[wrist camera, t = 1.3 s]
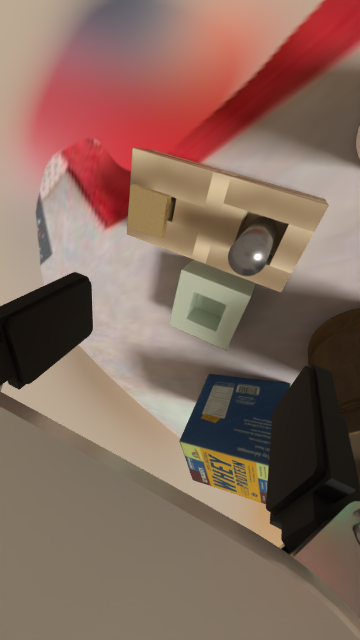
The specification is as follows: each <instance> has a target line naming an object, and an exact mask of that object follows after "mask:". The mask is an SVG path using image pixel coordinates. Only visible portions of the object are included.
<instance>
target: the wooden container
mask: <svg viewBox="0 0 360 640" xmlns="http://www.w3.org/2000/svg"><path fill="white" fill-rule="evenodd" d="M308 358H309V367H311V366H312V365H314V364H315V365H317V366H320V367H322V368H325V369H328V370H330V371H331V372H332V376H333V381H334V385H335V390H336V395H337V400H338V404H339V409H340V414H341V415H342V416H343V417H344V418H345V421H346V425H347V429H348V434H349V438H350V443H351V447H352V452H353V456H354V461H355V465H356V469H357V474H358V478H359V483H360V309H357V310H352V311H349V312H346V313H343V314H340V315H338V316H336V317H334V318H332V319H330V320H329V321H327V322H326V323H324V324H323V325H322V326H321V327H320V328H319V329H318V330H317V331H316V332H315V334H314V335H313V337H312V338H311V341H310V344H309V348H308Z"/></svg>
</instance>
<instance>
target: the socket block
mask: <svg viewBox="0 0 360 640" xmlns="http://www.w3.org/2000/svg"><path fill="white" fill-rule="evenodd" d="M132 184H137V185H140V186H143V187H146V188H149V189H152V190H155V191H158V192H162V193H165V194H168V195H171V196H172V197H171V198H172V199H175V200H176V204H175V209H174V215H173V217H171V218H169V219H168V221H167V227H166V233H165V237H164V238H162V239H159V238H157V237H154V236H151V235H149V234H146V233H143V232H140V231H138V230H135V229H132V228H130V227H128V224H127V234H128V235H130V236H133V237H136V238H138V239H141V240H144V241H146V242H149V243H151V244H154V245H157V246H159V247H162V248H165V249H167V250H170V251H173V252H175V253H178V254H180V255H183V256H186V257H188V258H191V259H194V260H196V261H199V262H202V263H204V264H207V265H210V266H212V267H215V268H217V269H220V270H223V271H225V272H228V273H231V274H233V275H236V276H239V277H241V278H244V279H246V280H249V281H252V282H254V283H257V284H260V285H262V286H265V287H268V288H270V289H273V290H275V291H278V292H281V291H282V290H283V288H284V286H285V284H286V282H287V281H288V279H289V277H290V275H291V273H292V271H293V270H294V268H295V266H296V264H297V262H298V260H299V259H300V257H301V255H302V253H303V251H304V250H305V248H306V246H307V244H308V242H309V240H310V239H311V237H312V235H313V233H314V231H315V230H316V228H317V226H318V224H319V222H320V220H321V219H322V217H323V215H324V213H325V211H326V210H327V208H328V206H329V205H328V203H327V202H326V200H325V199H322V198H318V197H315V196H311V195H308V194H304V193H301V192H297V191H294V190H290V189H287V188H283V187H280V186H276V185H273V184H270V183H266V182H263V181H259V180H256V179H252V178H249V177H245V176H242V175H238V174H235V173H231V172H228V171H225V170H221V169H218V168H214V167H211V166H207V165H204V164H200V163H197V162H193V161H190V160H186V159H183V158H180V157H176V156H173V155H169V154H166V153H162V152H159V151H155V150H148V149H137V148H133V151H132V165H131V180H130V185H132ZM129 199H130V195H129ZM128 213H129V209H128ZM263 216H265V217H268V218H271V219H273V220H274V221H275V223H276V225H277V234H276V237H275V240H274V243H273V246H272V248H271V251H270V254H269V257H268V260H267V263H266V265H265V267H264V268H263V269H262V270H261V271H260V272H259V273H257V274H255V275H252V276H242V275H239V274H237V273H236V272H234V271H233V270H232V268H231V267H230V265H229V262H228V253H229V250H230V248H231V246H232V245H233V244H234V243H235V241H236V240H237V239H238V238H239V237H240V236H241V234H242V233H243V232H244V231H245V230H246V229H247V227H248V226H249V225H250V224H251V223H252V222H253V221H254V220H255V219H256V218H258V217H263Z"/></svg>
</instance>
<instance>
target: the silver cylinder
mask: <svg viewBox="0 0 360 640" xmlns="http://www.w3.org/2000/svg"><path fill="white" fill-rule="evenodd" d="M276 234H277V225H276V223H275V221H274V220H273V219H271V218H268V217H265V216H263V217H258V218H256V219H255V220H254V221H253V222H252V223H251V224H250V225H249V226H248V227H247V229H246V230H245V231H244V232H243V233H242V234H241V236H240V237H239V238H238V239H237V240H236V241H235V243H234V244H233V245H232V246H231V248H230V250H229V253H228V262H229V265H230V267H231V268H232V270H233V271H234V272H236V273H237V274H239V275H242V276H252V275H255V274H257V273H259V272H260V271H261V270H262V269H263V268H264V267H265V265H266V263H267V260H268V257H269V254H270V251H271V248H272V246H273V243H274V240H275V237H276Z"/></svg>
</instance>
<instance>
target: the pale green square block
mask: <svg viewBox="0 0 360 640" xmlns="http://www.w3.org/2000/svg"><path fill="white" fill-rule="evenodd" d="M255 285H256V283H254V282H252V281H249V280H246V279H244V278H241V277H239V276H236V275H233V274H231V273H228V272H225V271H223V270H220V269H217V268H215V267H212V266H210V265H207V264H204V263H202V262H199V261H196V260H194V259H193V260H192V261H191V262H190V263H188V264H187V265H186V266H185V267H184V268H183V269H182V270H181V274H180V278H179V283H178V287H177V291H176V296H175V300H174V304H173V309H172V313H171V317H170V322H169V325H171V326H173V327H175V328H178V329H180V330H182V331H184V332H186V333H189V334H191V335H193V336H195V337H198V338H200V339H202V340H204V341H207V342H209V343H211V344H213V345H215V346H218V347H220V348H222V349H224V350H227V347H228V345H229V343H230V341H231V339H232V337H233V335H234V332H235V330H236V328H237V326H238V324H239V322H240V319H241V317H242V315H243V313H244V311H245V309H246V307H247V304H248V302H249V300H250V298H251V296H252V293H253V290H254V288H255Z"/></svg>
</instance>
